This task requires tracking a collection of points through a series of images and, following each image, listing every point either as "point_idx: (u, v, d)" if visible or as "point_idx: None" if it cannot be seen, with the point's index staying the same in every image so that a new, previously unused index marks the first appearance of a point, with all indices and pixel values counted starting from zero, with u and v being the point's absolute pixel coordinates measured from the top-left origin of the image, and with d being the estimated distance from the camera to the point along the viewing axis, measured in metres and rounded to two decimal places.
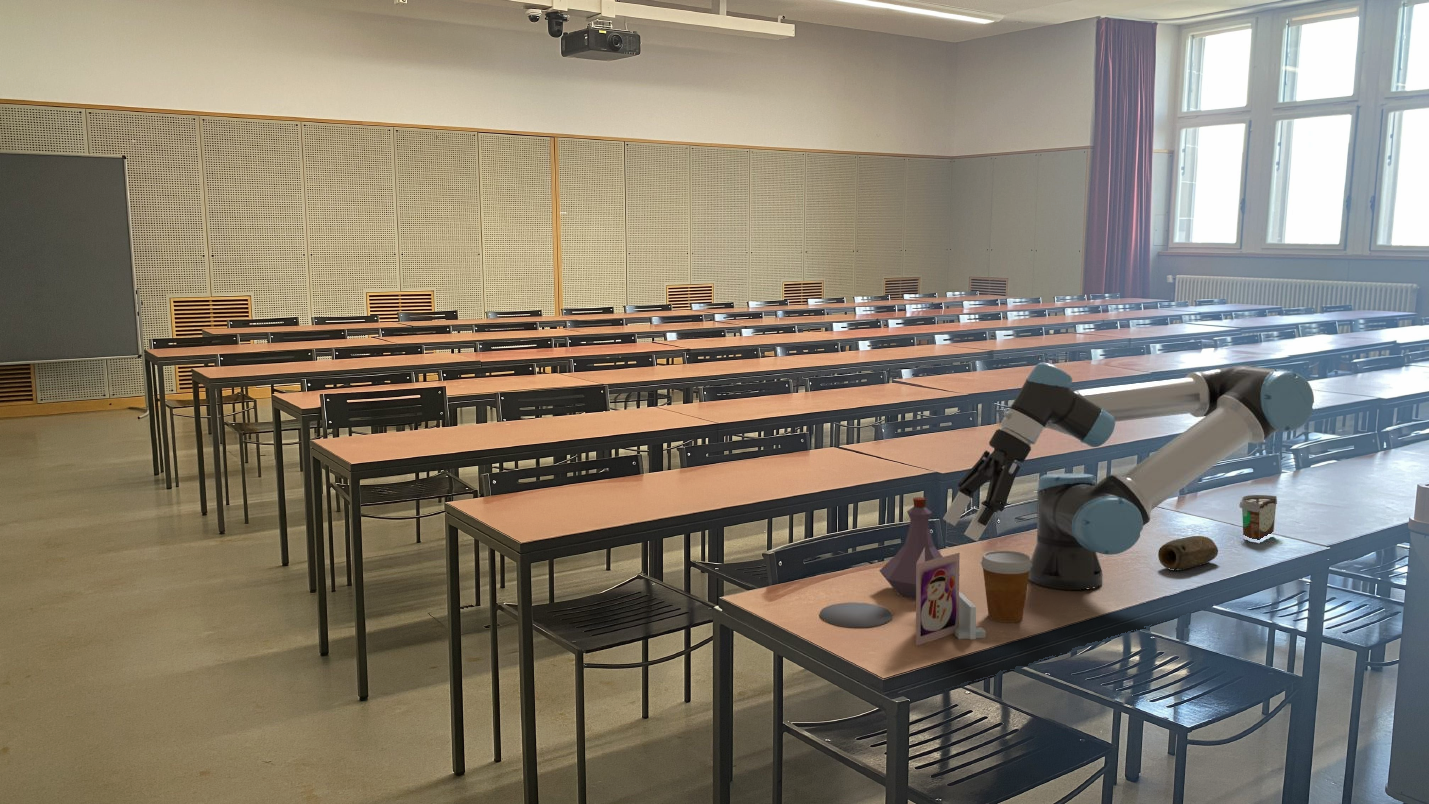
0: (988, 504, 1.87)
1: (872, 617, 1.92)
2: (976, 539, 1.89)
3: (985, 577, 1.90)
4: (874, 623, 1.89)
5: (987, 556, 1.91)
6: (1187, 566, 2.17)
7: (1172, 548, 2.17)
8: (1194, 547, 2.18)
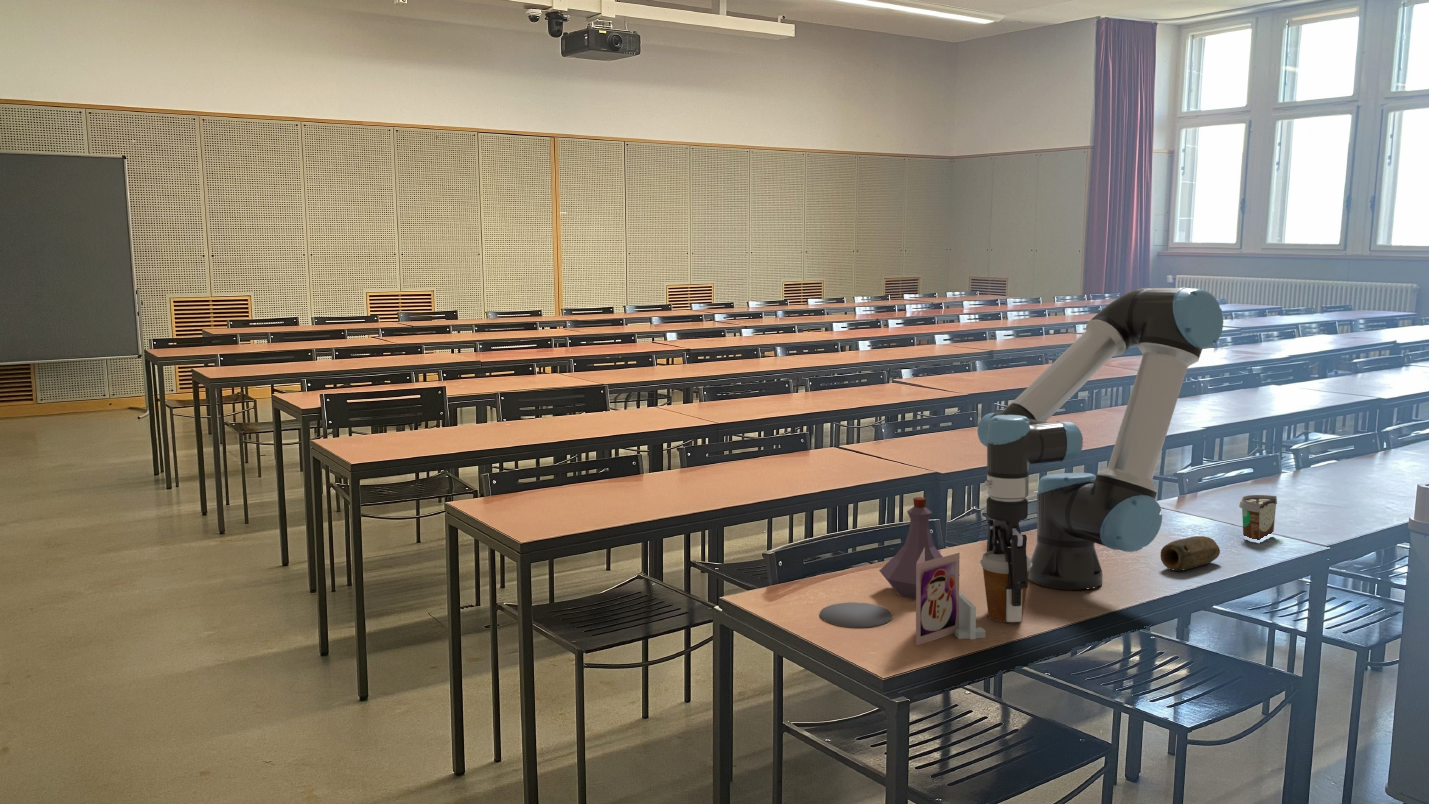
0: (1012, 587, 1.84)
1: (872, 617, 1.92)
2: (1019, 619, 1.86)
3: (985, 577, 1.90)
4: (874, 623, 1.89)
5: (987, 556, 1.91)
6: (1189, 566, 2.17)
7: (1174, 548, 2.16)
8: (1196, 548, 2.18)
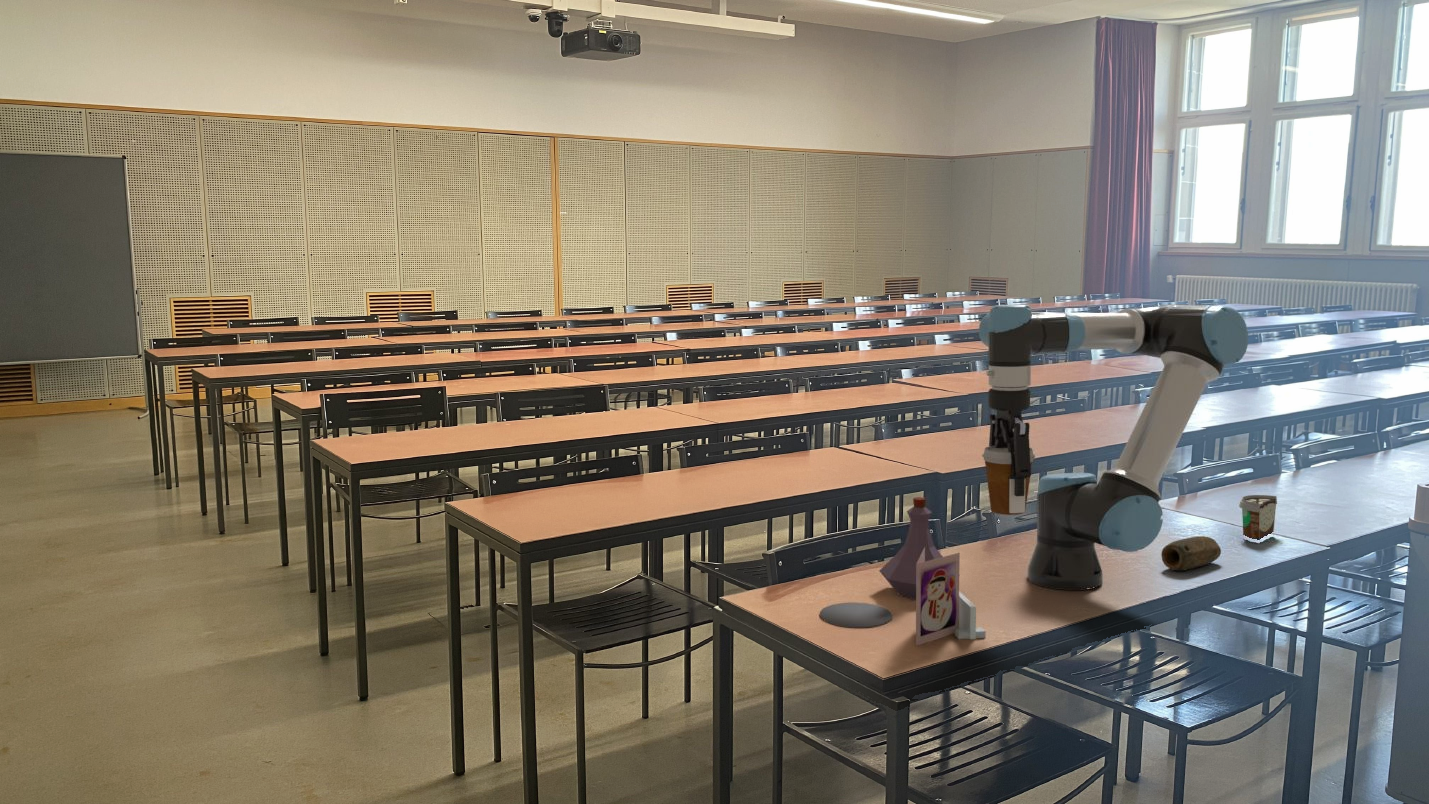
0: (1015, 477, 1.82)
1: (872, 617, 1.92)
2: (1023, 510, 1.84)
3: (987, 470, 1.87)
4: (874, 623, 1.89)
5: (989, 449, 1.89)
6: (1190, 566, 2.17)
7: (1175, 548, 2.16)
8: (1197, 548, 2.18)
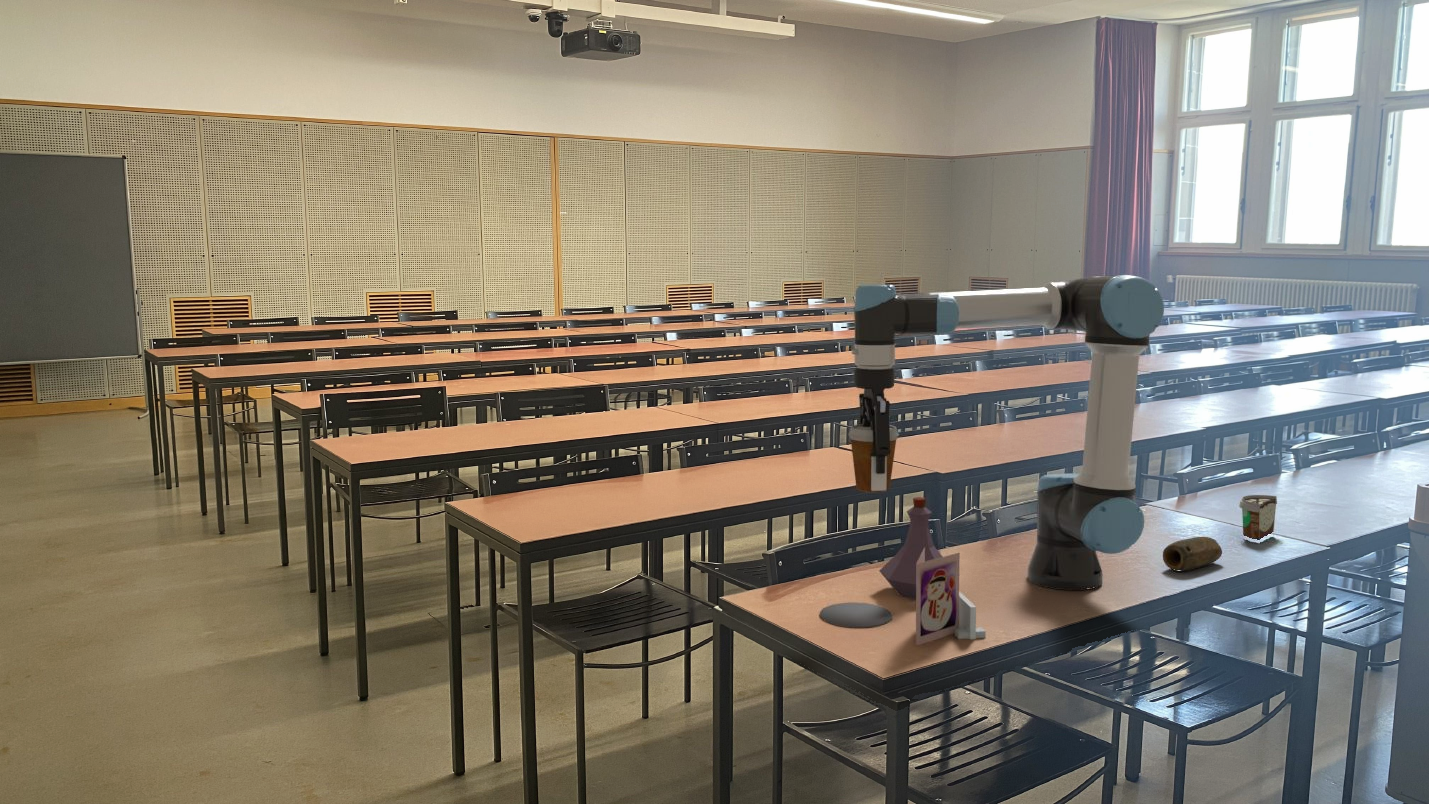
0: (875, 454, 1.84)
1: (872, 617, 1.92)
2: (884, 488, 1.86)
3: (852, 448, 1.89)
4: (874, 623, 1.89)
5: (855, 428, 1.91)
6: (1192, 567, 2.17)
7: (1177, 549, 2.16)
8: (1199, 548, 2.18)
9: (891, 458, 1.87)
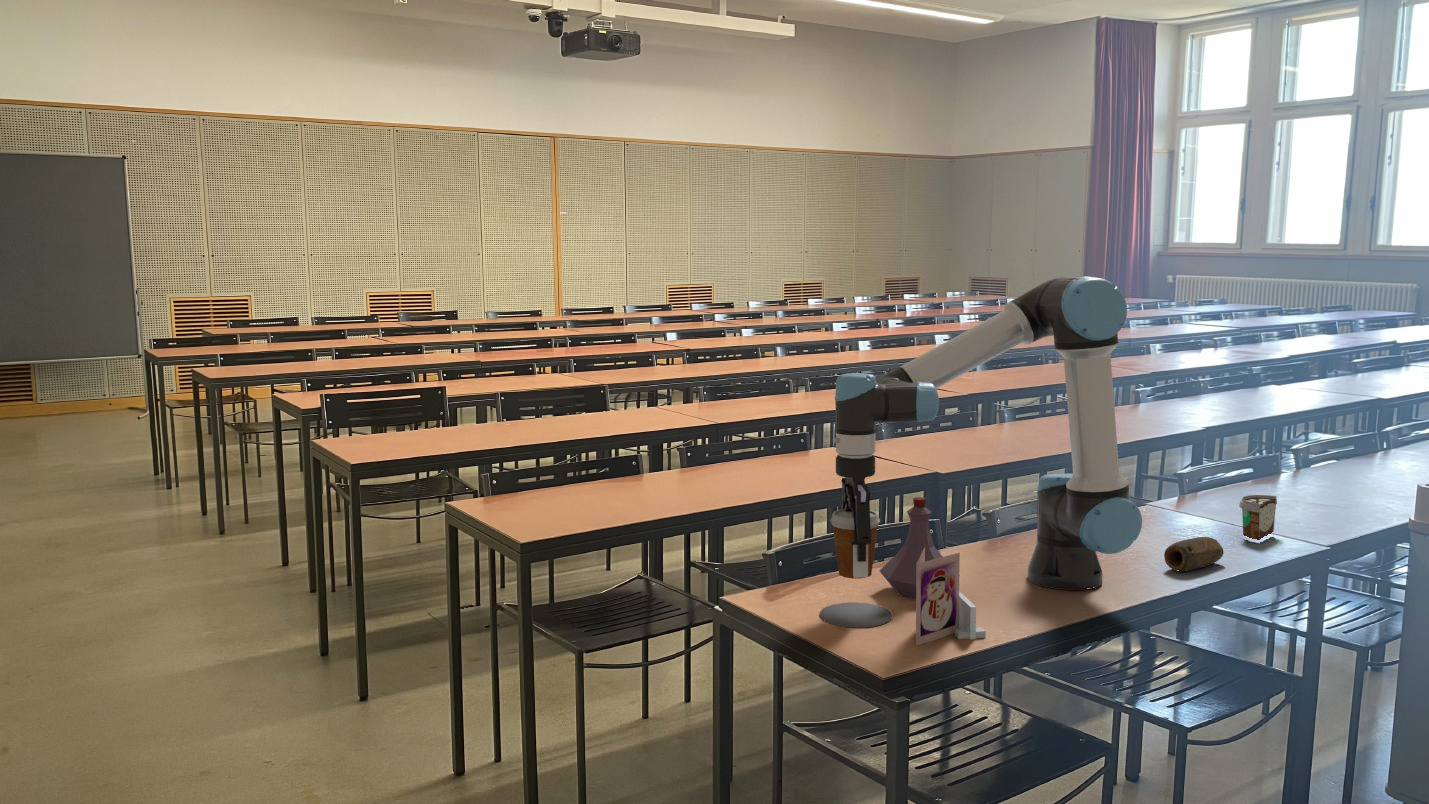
0: (857, 543, 1.86)
1: (872, 617, 1.92)
2: (866, 575, 1.88)
3: (834, 534, 1.92)
4: (874, 623, 1.89)
5: (837, 513, 1.93)
6: (1193, 567, 2.17)
7: (1178, 549, 2.16)
8: (1200, 548, 2.17)
9: (872, 544, 1.90)
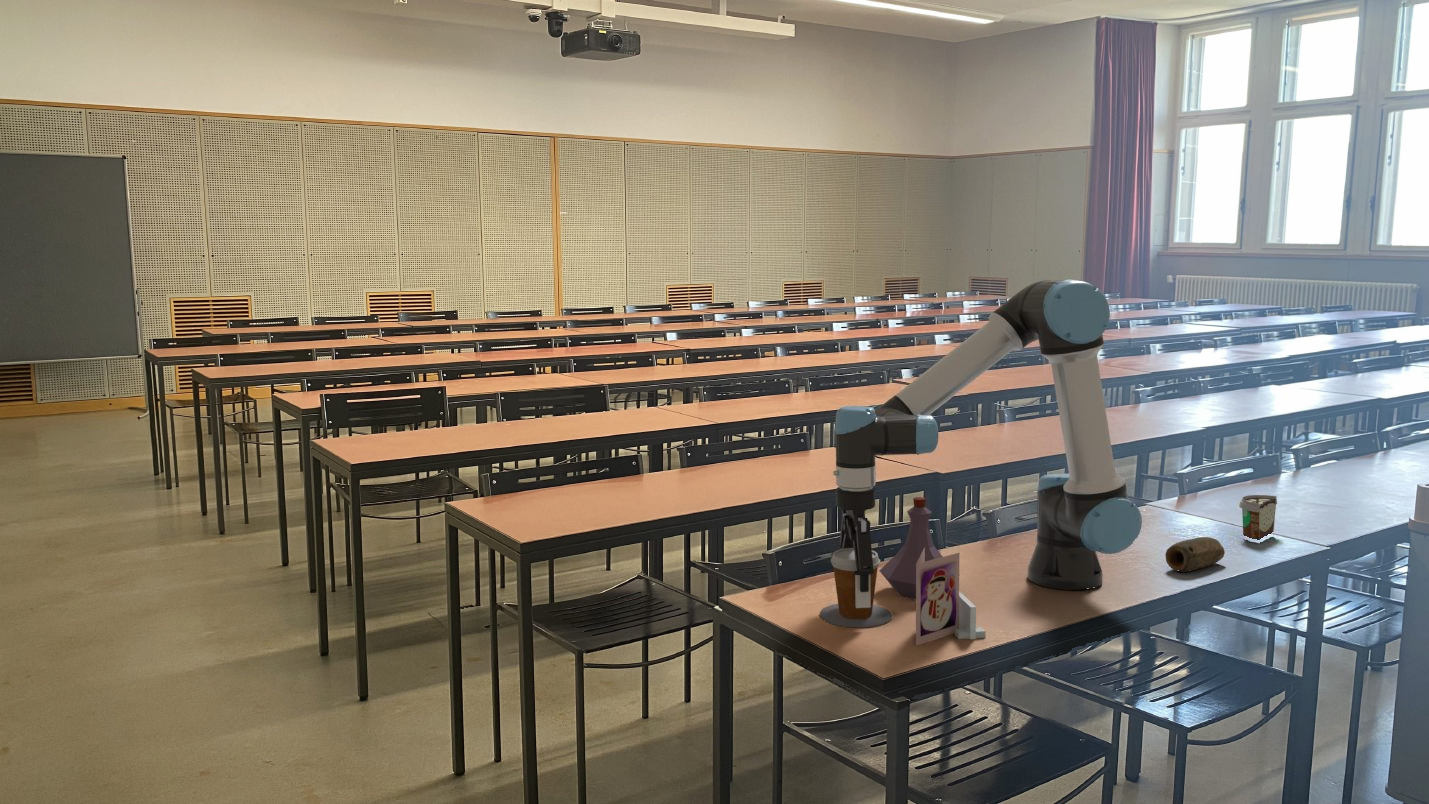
0: (859, 572, 1.85)
1: (872, 617, 1.92)
2: (868, 605, 1.87)
3: (834, 574, 1.92)
4: (874, 623, 1.89)
5: (838, 553, 1.94)
6: (1194, 568, 2.16)
7: (1180, 549, 2.16)
8: (1201, 549, 2.17)
9: (873, 585, 1.91)
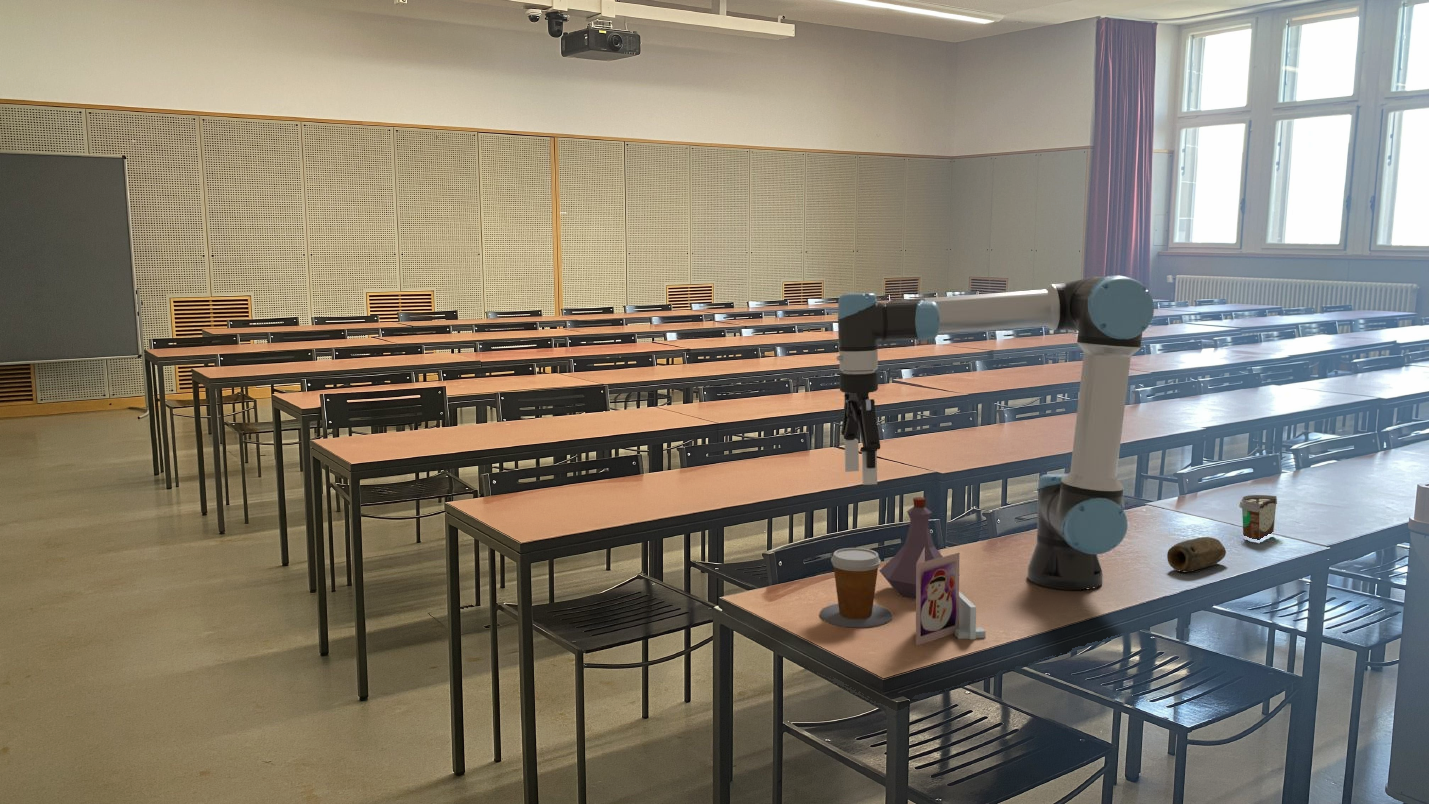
0: (866, 449, 1.90)
1: (872, 617, 1.92)
2: (875, 482, 1.92)
3: (835, 574, 1.93)
4: (874, 623, 1.89)
5: (838, 553, 1.94)
6: (1196, 568, 2.16)
7: (1181, 550, 2.15)
8: (1203, 549, 2.17)
9: (873, 585, 1.91)
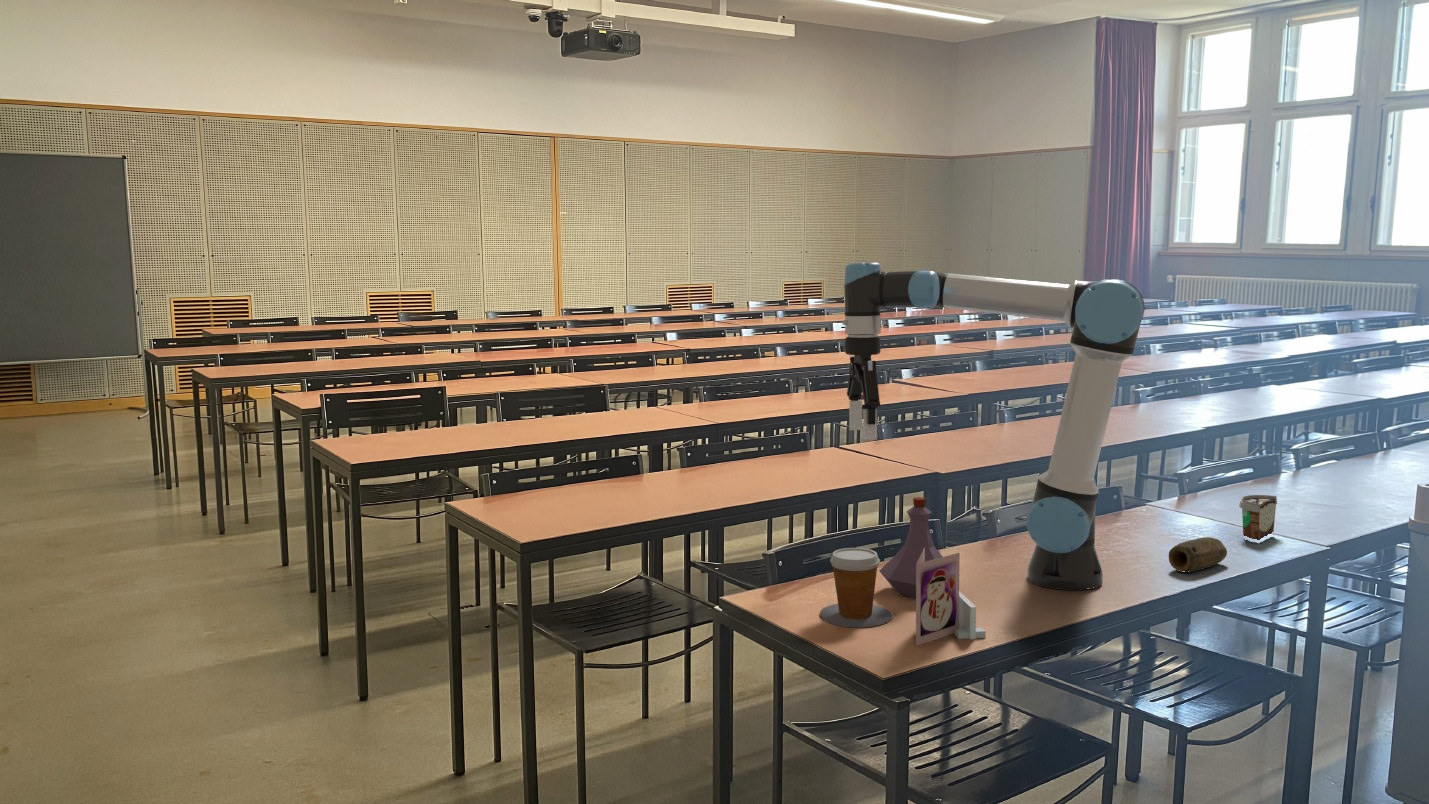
0: (867, 406, 2.05)
1: (872, 617, 1.92)
2: (875, 438, 2.07)
3: (834, 574, 1.93)
4: (874, 623, 1.89)
5: (837, 553, 1.94)
6: (1198, 568, 2.16)
7: (1183, 550, 2.15)
8: (1204, 549, 2.17)
9: (872, 585, 1.91)
